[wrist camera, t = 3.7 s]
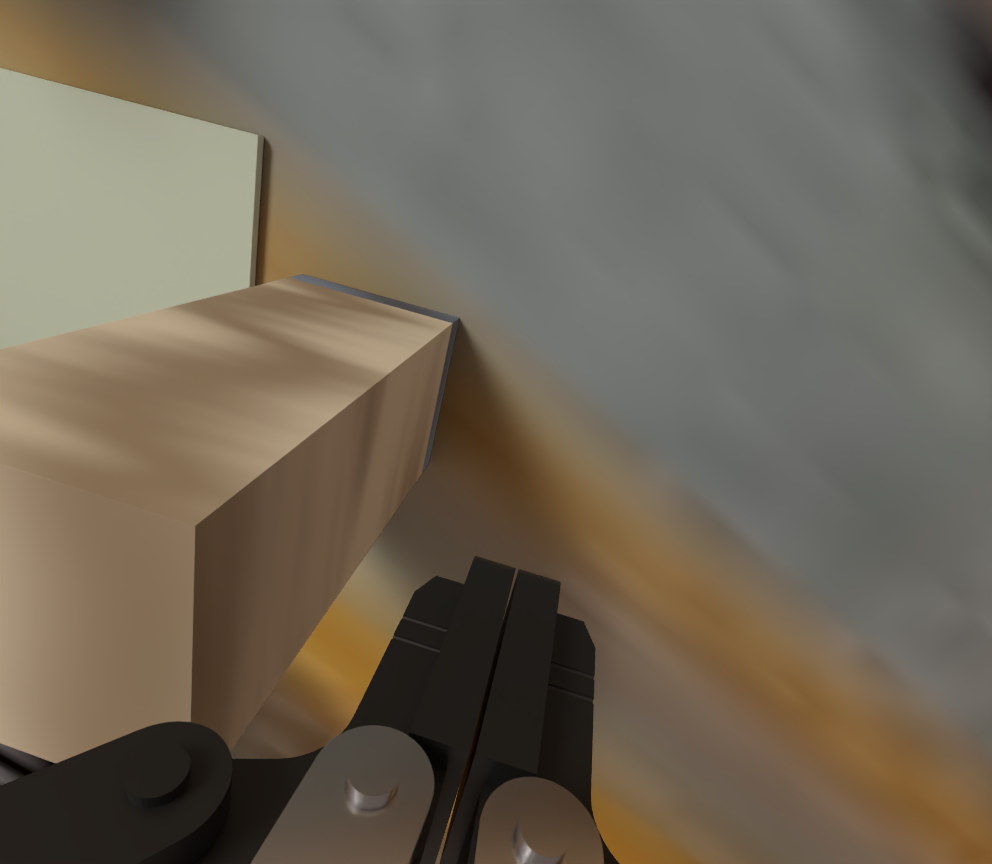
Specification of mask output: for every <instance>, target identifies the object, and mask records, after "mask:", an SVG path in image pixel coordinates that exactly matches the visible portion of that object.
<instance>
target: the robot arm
mask: <svg viewBox="0 0 992 864" xmlns="http://www.w3.org/2000/svg"><path fill="white" fill-rule="evenodd" d="M515 569H516V568H513V567H510V566H507V565H503V564H500V563H497V562H493V561H490V560H487V559H484V558H480V557H477V556H475V557H474V560H473V562H472V565H471V568H470V571H469V573H468V576H467V579H466V581H465V584H461V583H457V582H454V581H451V580H448V579H445V578H441V577H438V576H435V577H434V578H433V579H431V580H430V581H429V582H427V583H426V584H425V585H423V586H422V587H420V588H419V589H418V590H416V591H415V592H414V594H413V596H412V598H411V600H410V602H409V605H408V607H407V609H406V611H405V613H404V615H403V618H402V619H401V621H400V623H399V625H398V627H397V629H396V631H395V633H394V636H393V639H391V641H390V643H389V645H388V647H387V649H386V651H385V653H384V656H383V658H382V660H381V662H380V664H379V666H378V668H377V670H376V672H375V674H374V676H373V678H372V680H371V682H370V684H369V686H368V688H367V690H366V692H365V694H364V696H363V698H362V700H361V702H360V704H359V706H358V709H357V711H356V713H355V715H354V717H353V718H352V720H351V722H350V723H349V725H348V726H347V727H346V728H345V730H344V731H343V732H342V733H341V734H339V735H338V736H336V737H335V738H334V739H332V740H331V741H330V742H329V743H328V744H327V745H326V746H324V747H322V748H320V749H318V750H316V751H314V752H311V753H308V754H305V755H302V756H298V757H293V758H284V759H232V757H231V754H230V751H229V748H228V746H227V744H226V743H225V741H224V740H223V739H222V738H221V737H220V736H219V735H218V734H217V733H216V732H214V731H213V730H211V729H210V728H208V727H205V726H203V725H200V724H196V723H192V722H182V721H174V722H164V723H159V724H155V725H151V726H148V727H145V728H142V729H140V730H137V731H135V732H132V733H130V734H127V735H125V736H122V737H120V738H117V739H115V740H112V741H110V742H108V743H105V744H103V745H100V746H98V747H95V748H93V749H90V750H88V751H85V752H83V753H80V754H78V755H76V756H73V757H71V758H68V759H66V760H63V761H61V762H58V763H56V764H53V765H51V766H48V767H46V768H44V769H41V770H39V771H36V772H34V773H31V774H29V775H26V776H24V777H21V778H19V779H16V780H14V781H12V782H9V783H7V784H4V785H2V786H0V864H435V861H436V858H437V855H438V852H439V849H440V846H441V842H442V839H443V836H444V833H445V830H446V826H447V823H448V820H449V817H450V814H451V810H452V807H453V804H454V801H455V798H456V801H455V805H454V809H453V813H452V817H451V821H450V825H449V829H448V833H447V837H446V841H445V845H444V849H443V853H442V857H441V860H440V864H619V863H618V861H617V860H616V859H615V858H614V856H613V855H612V854H611V852H610V851H609V849H608V848H607V846H606V844H605V843H604V841H603V839H602V837H601V835H600V833H599V831H598V829H597V826H596V823H595V820H594V817H593V811H592V806H591V773H592V740H593V707H594V704H593V699H594V680H593V679H594V674H595V646H594V644H593V642H592V640H591V637H590V635H589V633H588V630H587V628H586V626H585V624H584V622H583V621H580V620H577V619H574V618H570V617H567V616H564V615H561V614H558V613H557V609H558V601H559V593H560V582H559V581H556V580H553V579H549V578H546V577H543V576H540V575H536V574H533V573H530V572H527V571H523V570H520V569H519V571H518V574H517V577H516V580H515V583H514V587H513V590H512V593H511V597H510V600H509V603H508V606H507V610H506V613H505V609H506V605H507V601H508V597H509V593H510V589H511V585H512V581H513V577H514V573H515ZM504 613H505V616H504ZM503 617H504V619H503ZM502 621H503V623H502ZM501 625H502V626H501ZM458 788H459V789H458ZM457 791H458V793H457ZM456 795H457V797H456Z"/></svg>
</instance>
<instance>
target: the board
mask: <svg viewBox="0 0 992 864" xmlns="http://www.w3.org/2000/svg"><path fill="white" fill-rule="evenodd" d="M263 143H264V136H261V135H257V134H253V133H249V132H245V131H241V130H238V129H234V128H230V127H226V126H222V125H218V124H215V123H211V122H207V121H203V120H199V119H195V118H191V117H188V116H184V115H180V114H176V113H172V112H168V111H165V110H161V109H157V108H153V107H149V106H145V105H142V104H138V103H134V102H130V101H126V100H122V99H118V98H115V97H111V96H107V95H103V94H99V93H95V92H92V91H88V90H84V89H80V88H76V87H72V86H69V85H65V84H61V83H57V82H53V81H49V80H46V79H42V78H38V77H34V76H30V75H26V74H22V73H19V72H15V71H11V70H7V69H3V68H0V349H4V348H8V347H12V346H16V345H20V344H24V343H28V342H32V341H36V340H40V339H44V338H48V337H52V336H56V335H60V334H64V333H68V332H72V331H76V330H80V329H84V328H88V327H92V326H96V325H100V324H104V323H108V322H112V321H116V320H121V319H125V318H129V317H133V316H137V315H141V314H145V313H149V312H153V311H157V310H161V309H165V308H169V307H173V306H177V305H181V304H185V303H189V302H193V301H197V300H201V299H205V298H209V297H213V296H217V295H221V294H225V293H229V292H233V291H237V290H241V289H245V288H249V287H253V286H255V275H256V258H257V242H258V226H259V209H260V193H261V176H262V160H263Z"/></svg>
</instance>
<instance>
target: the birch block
mask: <svg viewBox="0 0 992 864" xmlns="http://www.w3.org/2000/svg"><path fill="white" fill-rule="evenodd" d="M458 322H459V318H458V317H454V316H451V315H447V314H444V313H440V312H437V311H433V310H429V309H426V308H422V307H419V306H415V305H411V304H408V303H404V302H401V301H397V300H394V299H390V298H386V297H383V296H379V295H376V294H372V293H368V292H365V291H361V290H358V289H354V288H351V287H347V286H343V285H340V284H336V283H333V282H329V281H325V280H322V279H318V278H315V277H311V276H307V275H304V274H301V275H297V276H293V277H289V278H285V279H281V280H277V281H273V282H269V283H265V284H261V285H257V286H253V287H249V288H245V289H241V290H237V291H233V292H229V293H225V294H221V295H217V296H213V297H209V298H205V299H201V300H197V301H193V302H189V303H185V304H181V305H177V306H173V307H169V308H165V309H161V310H157V311H153V312H149V313H145V314H141V315H137V316H133V317H129V318H125V319H121V320H116V321H112V322H108V323H104V324H100V325H96V326H92V327H88V328H84V329H80V330H76V331H72V332H68V333H64V334H60V335H56V336H52V337H48V338H44V339H40V340H36V341H32V342H28V343H24V344H20V345H16V346H12V347H8V348H4V349H0V743H1V744H4V745H7V746H9V747H12V748H15V749H18V750H20V751H23V752H26V753H29V754H31V755H34V756H37V757H40V758H42V759H45V760H48V761H51V762H53V763H58V762H61V761H63V760H66V759H68V758H71V757H73V756H76V755H78V754H80V753H83V752H85V751H88V750H90V749H93V748H95V747H98V746H100V745H103V744H105V743H108V742H110V741H112V740H115V739H117V738H120V737H122V736H125V735H127V734H130V733H132V732H135V731H137V730H140V729H142V728H145V727H148V726H151V725H155V724H159V723H164V722H174V721H182V722H192V723H196V724H200V725H203V726H205V727H208V728H210V729H211V730H213V731H214V732H216V733H217V734H218V735H219V736H220V737H221V738H222V739H223V740H224V741H225V743H226V744H227V746H228V748H229V751H231V749H232V748H233V747H234V745H235V744H236V742H237V741H238V739H239V738H240V736H241V735H242V734H243V732H244V731H245V729H246V728H247V726H248V725H249V723H250V722H251V720H252V719H253V718H254V716H255V715H256V713H257V712H258V710H259V709H260V707H261V706H262V705H263V703H264V702H265V700H266V699H267V697H268V696H269V694H270V693H271V692H272V690H273V689H274V687H275V686H276V684H277V683H278V681H279V680H280V678H281V677H282V676H283V674H284V673H285V671H286V670H287V668H288V667H289V665H290V664H291V663H292V661H293V660H294V658H295V657H296V655H297V654H298V652H299V651H300V649H301V648H302V647H303V645H304V644H305V642H306V641H307V639H308V638H309V636H310V635H311V634H312V632H313V631H314V629H315V628H316V626H317V625H318V623H319V622H320V621H321V619H322V618H323V616H324V615H325V613H326V612H327V610H328V609H329V607H330V606H331V605H332V603H333V602H334V600H335V599H336V597H337V596H338V594H339V593H340V592H341V590H342V589H343V587H344V586H345V584H346V583H347V581H348V580H349V579H350V577H351V576H352V574H353V573H354V571H355V570H356V568H357V567H358V565H359V564H360V563H361V561H362V560H363V558H364V557H365V555H366V554H367V552H368V551H369V550H370V548H371V547H372V545H373V544H374V542H375V541H376V539H377V538H378V537H379V535H380V534H381V532H382V531H383V529H384V528H385V526H386V525H387V523H388V522H389V521H390V519H391V518H392V516H393V515H394V513H395V512H396V510H397V509H398V508H399V506H400V505H401V503H402V502H403V500H404V499H405V497H406V496H407V495H408V493H409V492H410V490H411V489H412V487H413V486H414V484H415V483H416V481H417V480H418V479H419V477H420V476H421V474H422V473H423V471H424V470H425V468H426V467H427V466H428V464H429V461H430V456H431V451H432V446H433V442H434V437H435V432H436V427H437V422H438V418H439V413H440V408H441V403H442V398H443V394H444V389H445V384H446V379H447V375H448V370H449V365H450V360H451V355H452V351H453V346H454V341H455V336H456V332H457V327H458Z"/></svg>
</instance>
